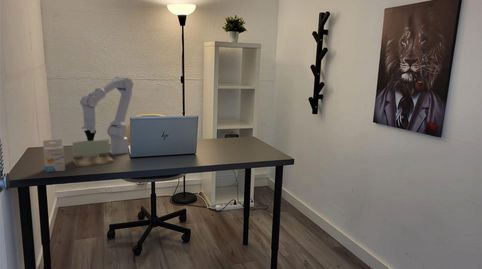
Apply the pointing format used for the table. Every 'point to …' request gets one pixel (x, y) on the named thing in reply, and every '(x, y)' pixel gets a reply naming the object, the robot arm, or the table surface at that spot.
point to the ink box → (53, 155)
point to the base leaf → (92, 160)
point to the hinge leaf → (90, 148)
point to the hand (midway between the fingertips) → (90, 143)
